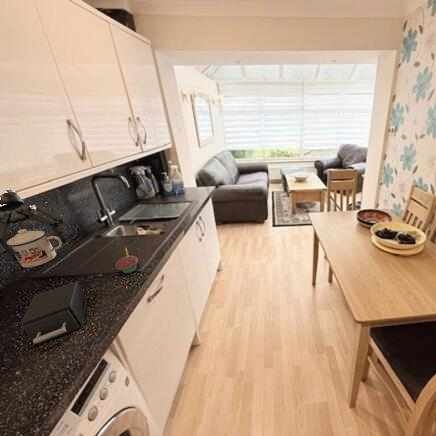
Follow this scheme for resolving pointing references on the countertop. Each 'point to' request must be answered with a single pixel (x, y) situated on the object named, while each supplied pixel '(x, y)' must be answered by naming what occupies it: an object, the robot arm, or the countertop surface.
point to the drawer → (51, 326)
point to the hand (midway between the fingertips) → (40, 249)
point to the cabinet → (57, 303)
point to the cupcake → (127, 263)
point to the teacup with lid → (33, 247)
